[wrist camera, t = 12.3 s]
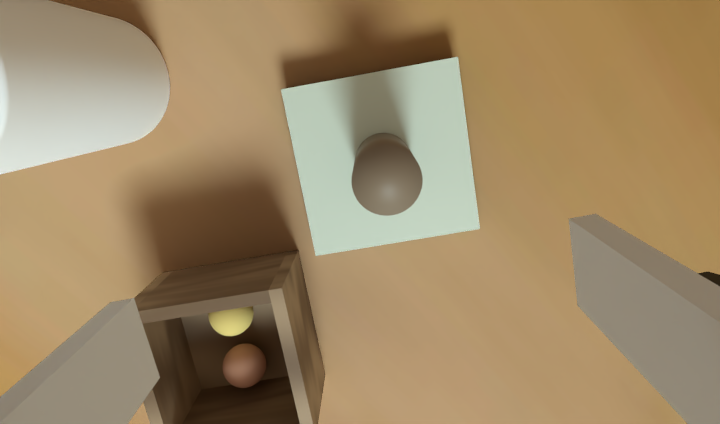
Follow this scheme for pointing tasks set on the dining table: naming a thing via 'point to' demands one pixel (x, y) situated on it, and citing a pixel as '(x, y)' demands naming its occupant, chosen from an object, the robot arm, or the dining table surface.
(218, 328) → the ball
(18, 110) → the cup
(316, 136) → the lid
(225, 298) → the box
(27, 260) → the dining table surface
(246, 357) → the ball
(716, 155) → the dining table surface
